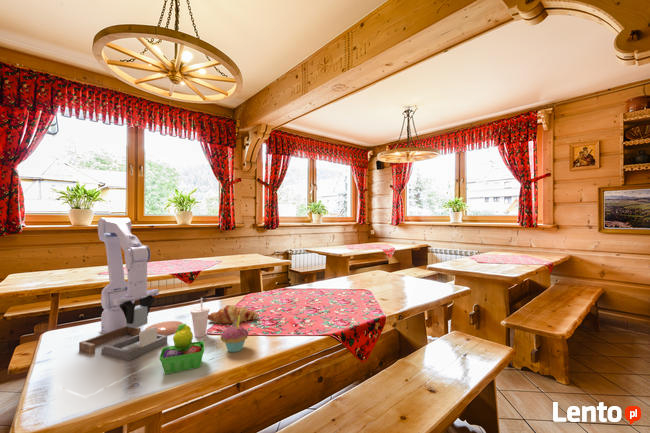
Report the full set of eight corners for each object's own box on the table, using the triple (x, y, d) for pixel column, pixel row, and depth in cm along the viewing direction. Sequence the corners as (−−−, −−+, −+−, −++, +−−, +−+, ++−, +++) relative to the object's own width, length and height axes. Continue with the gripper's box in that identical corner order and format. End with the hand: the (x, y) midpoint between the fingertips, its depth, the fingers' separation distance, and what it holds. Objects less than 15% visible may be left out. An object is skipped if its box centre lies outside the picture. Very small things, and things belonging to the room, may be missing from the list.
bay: (79, 351, 91) (79, 342, 91) (128, 333, 106) (128, 325, 106) (91, 355, 89) (91, 345, 89) (140, 335, 103) (140, 327, 103)
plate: (136, 334, 105) (136, 330, 105) (167, 322, 117) (167, 319, 117) (161, 339, 100) (161, 336, 100) (190, 326, 112) (190, 323, 112)
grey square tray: (101, 353, 89) (101, 331, 89) (141, 337, 101) (141, 318, 101) (128, 361, 84) (129, 337, 84) (167, 343, 96) (167, 322, 96)
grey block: (126, 326, 96) (126, 308, 96) (139, 322, 100) (138, 305, 100) (134, 328, 94) (134, 310, 94) (147, 323, 98) (147, 306, 98)
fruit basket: (158, 378, 76) (158, 335, 76) (162, 362, 84) (163, 324, 84) (204, 368, 80) (204, 329, 81) (204, 355, 89) (204, 319, 89)
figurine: (242, 335, 103) (241, 318, 104) (229, 337, 101) (228, 320, 102) (241, 332, 108) (240, 316, 109) (229, 334, 106) (228, 318, 107)
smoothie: (202, 340, 100) (202, 300, 100) (186, 338, 101) (186, 299, 101) (213, 333, 106) (213, 295, 106) (198, 331, 107) (198, 294, 107)
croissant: (258, 325, 124) (259, 306, 127) (257, 321, 115) (258, 301, 119) (207, 327, 120) (209, 308, 123) (202, 323, 111) (205, 303, 115)
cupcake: (253, 345, 95) (253, 309, 95) (237, 357, 87) (237, 318, 87) (232, 342, 98) (232, 307, 98) (215, 352, 90) (215, 315, 90)
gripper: (123, 287, 89) (122, 330, 89) (164, 278, 102) (164, 315, 102) (109, 285, 92) (108, 326, 92) (151, 276, 105) (151, 313, 105)
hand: (137, 320), depth 97 cm, fingers closed on grey block, 4 cm apart
